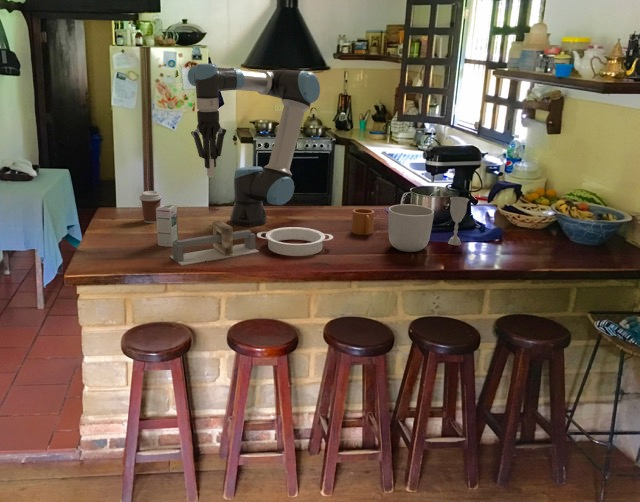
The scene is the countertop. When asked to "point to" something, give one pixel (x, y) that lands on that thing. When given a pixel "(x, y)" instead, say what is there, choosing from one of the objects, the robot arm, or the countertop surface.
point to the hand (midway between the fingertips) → (210, 176)
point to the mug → (362, 221)
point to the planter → (409, 226)
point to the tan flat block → (223, 237)
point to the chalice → (457, 215)
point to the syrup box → (167, 225)
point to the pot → (295, 233)
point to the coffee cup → (150, 205)
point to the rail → (212, 253)
